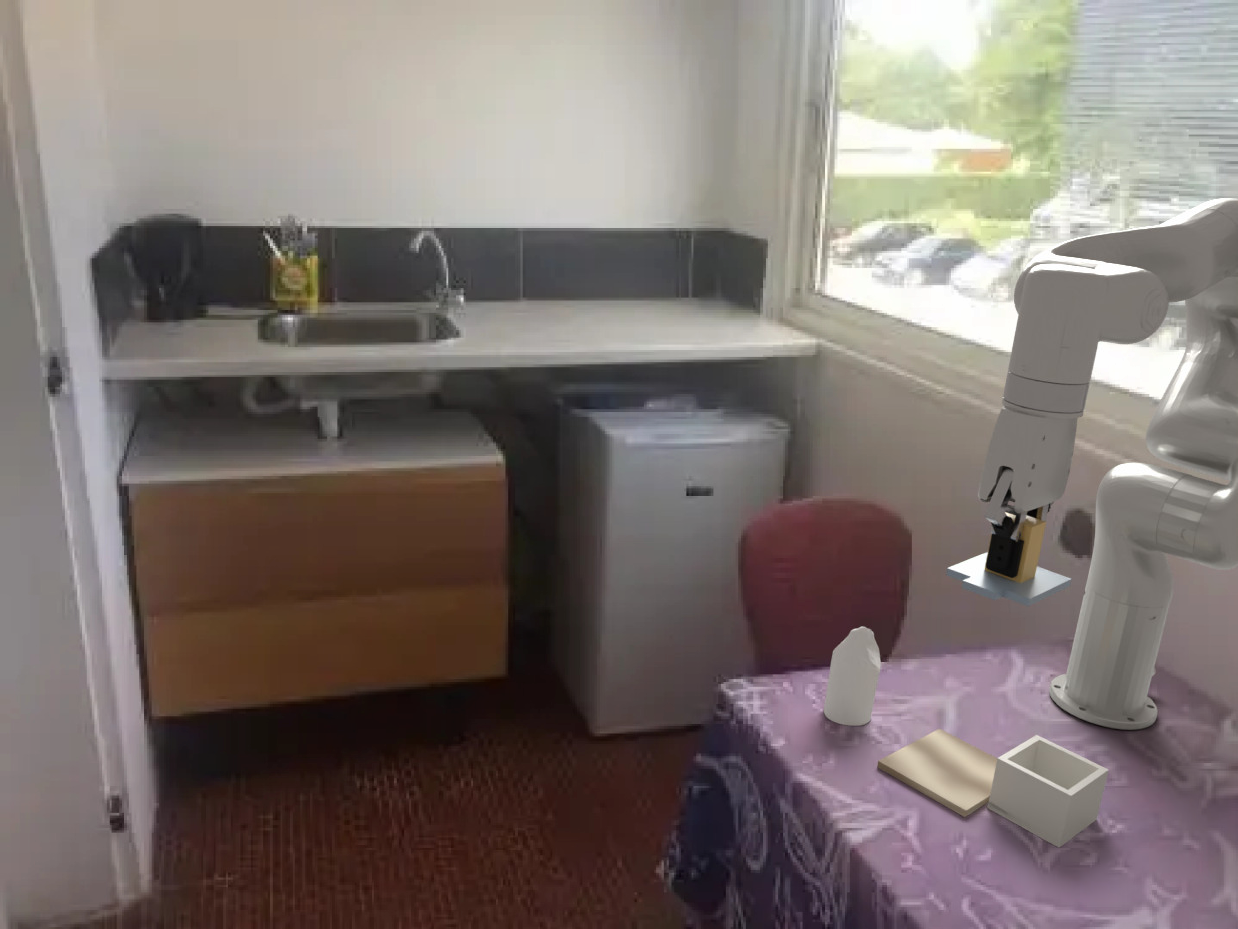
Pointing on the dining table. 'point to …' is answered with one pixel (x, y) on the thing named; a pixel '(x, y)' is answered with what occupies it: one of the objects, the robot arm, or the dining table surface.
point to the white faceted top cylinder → (853, 679)
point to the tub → (1047, 790)
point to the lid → (1029, 580)
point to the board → (944, 770)
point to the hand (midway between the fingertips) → (1010, 567)
